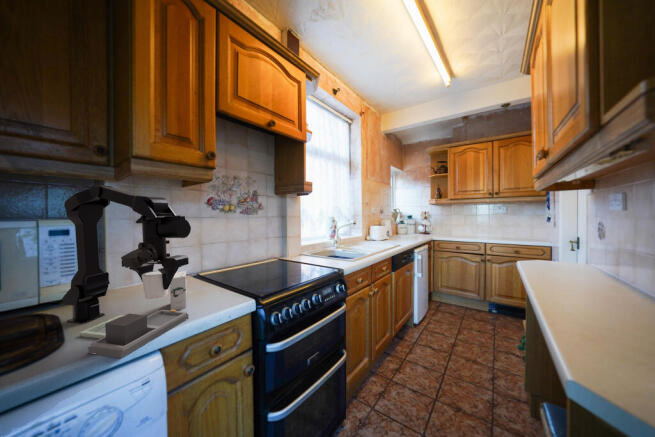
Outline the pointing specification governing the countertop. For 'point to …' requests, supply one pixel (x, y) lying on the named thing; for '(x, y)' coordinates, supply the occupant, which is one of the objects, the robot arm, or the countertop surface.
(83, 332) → the tray rim
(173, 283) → the ink box
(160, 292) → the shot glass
